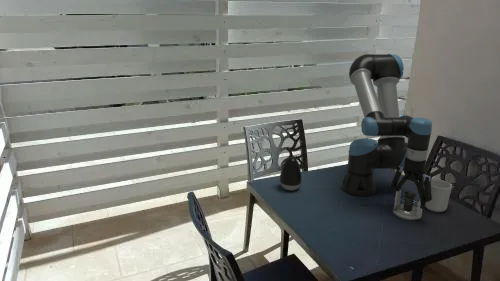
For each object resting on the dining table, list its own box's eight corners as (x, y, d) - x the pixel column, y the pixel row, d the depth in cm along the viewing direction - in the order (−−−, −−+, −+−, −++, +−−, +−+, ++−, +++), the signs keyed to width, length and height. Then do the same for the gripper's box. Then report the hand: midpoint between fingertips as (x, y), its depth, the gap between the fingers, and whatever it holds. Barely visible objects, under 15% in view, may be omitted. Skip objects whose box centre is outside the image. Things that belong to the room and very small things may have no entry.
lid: (387, 211, 156) (390, 191, 153) (402, 204, 162) (405, 184, 159) (411, 223, 147) (415, 202, 144) (427, 214, 153) (430, 194, 151)
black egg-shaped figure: (305, 186, 177) (307, 156, 173) (295, 195, 169) (297, 163, 164) (285, 181, 183) (287, 151, 178) (275, 189, 174) (276, 158, 169)
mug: (436, 215, 153) (441, 190, 150) (418, 205, 161) (422, 181, 157) (456, 208, 158) (461, 184, 155) (438, 199, 166) (442, 176, 162)
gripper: (385, 152, 153) (379, 201, 160) (438, 169, 136) (428, 224, 144) (396, 148, 157) (389, 197, 164) (448, 164, 141) (438, 218, 148)
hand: (407, 209), depth 154 cm, fingers closed on lid, 9 cm apart
